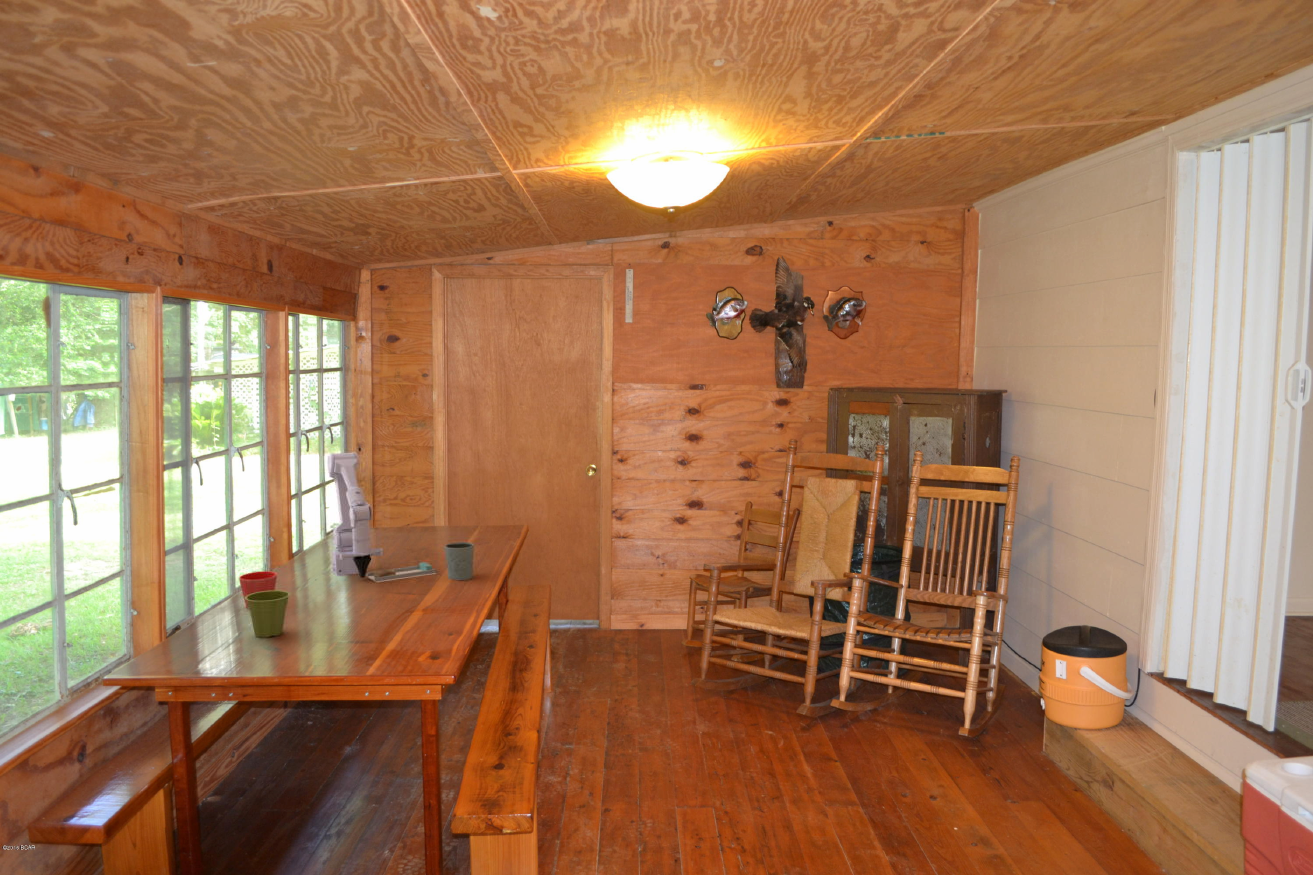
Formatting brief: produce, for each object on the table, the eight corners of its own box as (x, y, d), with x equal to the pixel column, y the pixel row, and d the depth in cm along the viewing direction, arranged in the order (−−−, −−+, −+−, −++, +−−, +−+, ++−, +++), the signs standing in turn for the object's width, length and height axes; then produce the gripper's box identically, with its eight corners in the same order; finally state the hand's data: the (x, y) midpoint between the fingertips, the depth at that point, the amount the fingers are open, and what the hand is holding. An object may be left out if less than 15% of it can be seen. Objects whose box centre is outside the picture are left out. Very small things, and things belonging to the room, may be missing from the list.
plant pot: (289, 638, 246) (287, 599, 245) (243, 642, 243) (241, 602, 242) (293, 626, 258) (292, 588, 257) (249, 629, 254) (248, 591, 253)
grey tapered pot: (467, 582, 308) (466, 548, 307) (440, 580, 310) (439, 547, 309) (478, 575, 318) (478, 542, 317) (452, 573, 320) (452, 541, 319)
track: (376, 583, 306) (376, 575, 306) (365, 576, 316) (365, 568, 315) (436, 574, 319) (436, 566, 319) (424, 568, 329) (424, 560, 328)
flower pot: (260, 611, 273) (258, 580, 272) (232, 607, 276) (231, 577, 275) (285, 602, 282) (284, 572, 282) (258, 599, 286) (257, 570, 285)
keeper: (378, 579, 310) (378, 573, 310) (374, 576, 314) (374, 570, 314) (395, 576, 313) (395, 571, 313) (390, 574, 318) (390, 568, 317)
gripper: (343, 543, 300) (344, 582, 302) (385, 538, 309) (386, 576, 310) (337, 540, 306) (338, 578, 307) (379, 535, 314) (380, 572, 316)
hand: (362, 577), depth 309 cm, fingers closed
